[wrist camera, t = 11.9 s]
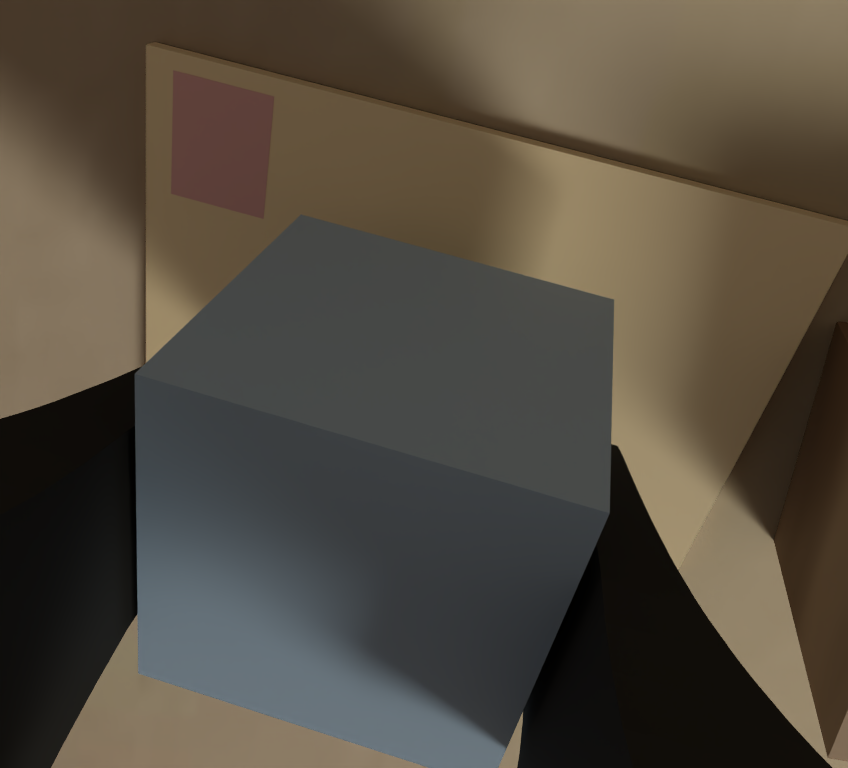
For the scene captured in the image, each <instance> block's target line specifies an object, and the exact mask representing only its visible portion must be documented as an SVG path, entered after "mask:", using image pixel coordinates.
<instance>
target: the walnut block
mask: <svg viewBox="0 0 848 768" xmlns="http://www.w3.org/2000/svg"><path fill="white" fill-rule="evenodd" d="M774 543H775V547H776V551H777V555H778V559H779V563H780V567H781V571H782V575H783V579H784V583H785V587H786V591H787V595H788V599H789V603H790V607H791V611H792V615H793V620H794V624H795V628H796V632H797V636H798V640H799V644H800V648H801V652H802V656H803V660H804V664H805V668H806V672H807V676H808V680H809V684H810V688H811V692H812V696H813V700H814V704H815V708H816V712H817V716H818V720H819V724H820V728H821V732H822V736H823V740H824V744H825V748H826V752H827V756H828V758H831V759H837V760H843V761H848V323H846V322H837V323H836V327H835V330H834V334H833V337H832V341H831V344H830V347H829V351H828V354H827V358H826V361H825V365H824V368H823V372H822V375H821V379H820V382H819V386H818V389H817V393H816V396H815V400H814V403H813V406H812V410H811V413H810V417H809V420H808V424H807V427H806V431H805V434H804V438H803V441H802V445H801V448H800V452H799V455H798V459H797V462H796V465H795V469H794V472H793V476H792V479H791V483H790V486H789V490H788V493H787V497H786V500H785V504H784V507H783V511H782V514H781V518H780V521H779V524H778V528H777V531H776V535H775V538H774Z"/></svg>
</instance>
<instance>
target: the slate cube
mask: <svg viewBox="0 0 848 768" xmlns="http://www.w3.org/2000/svg"><path fill="white" fill-rule="evenodd" d="M613 335H614V299H610V298H606V297H603V296H599V295H595V294H592V293H588V292H584V291H581V290H577V289H573V288H570V287H566V286H562V285H559V284H555V283H551V282H548V281H544V280H540V279H537V278H533V277H529V276H525V275H522V274H518V273H514V272H511V271H507V270H503V269H500V268H496V267H492V266H489V265H485V264H481V263H478V262H474V261H470V260H467V259H463V258H459V257H456V256H452V255H448V254H445V253H441V252H437V251H434V250H430V249H426V248H423V247H419V246H415V245H412V244H408V243H404V242H400V241H397V240H393V239H389V238H386V237H382V236H378V235H375V234H371V233H367V232H364V231H360V230H356V229H353V228H349V227H345V226H342V225H338V224H334V223H331V222H327V221H323V220H320V219H316V218H312V217H309V216H305V215H300V216H299V217H298V218H297V219H296V220H295V221H294V222H293V223H291V224H290V225H289V226H288V227H287V228H286V229H285V230H284V231H283V232H282V233H281V234H280V235H279V236H278V237H277V238H276V239H275V240H274V241H273V242H272V243H271V244H270V245H269V246H267V247H266V248H265V249H264V250H263V251H262V252H261V253H260V254H259V255H258V256H257V257H256V258H255V259H254V260H253V261H252V262H251V263H250V264H249V265H248V266H247V267H246V268H245V269H244V270H242V271H241V272H240V273H239V274H238V275H237V276H236V277H235V278H234V279H233V280H232V281H231V282H230V283H229V284H228V285H227V286H226V287H225V288H224V289H223V290H222V291H221V292H220V293H218V294H217V295H216V296H215V297H214V298H213V299H212V300H211V301H210V302H209V303H208V304H207V305H206V306H205V307H204V308H203V309H202V310H201V311H200V312H199V313H198V314H197V315H196V316H194V317H193V318H192V319H191V320H190V321H189V322H188V323H187V324H186V325H185V326H184V327H183V328H182V329H181V330H180V331H179V332H178V333H177V334H176V335H175V336H174V337H173V338H172V339H170V340H169V341H168V342H167V343H166V344H165V345H164V346H163V347H162V348H161V349H160V350H159V351H158V352H157V353H156V354H155V355H154V356H153V357H152V358H151V359H150V360H149V361H148V362H146V363H145V364H144V365H143V366H142V367H141V368H140V369H139V370H138V371H137V372H136V373H135V447H136V524H137V601H138V673H139V674H142V675H145V676H148V677H151V678H154V679H157V680H160V681H163V682H166V683H169V684H173V685H176V686H179V687H182V688H185V689H188V690H191V691H194V692H197V693H200V694H203V695H207V696H210V697H213V698H216V699H219V700H222V701H225V702H228V703H231V704H234V705H237V706H240V707H244V708H247V709H250V710H253V711H256V712H259V713H262V714H265V715H268V716H271V717H274V718H277V719H281V720H284V721H287V722H290V723H293V724H296V725H299V726H302V727H305V728H308V729H311V730H314V731H318V732H321V733H324V734H327V735H330V736H333V737H336V738H339V739H342V740H345V741H348V742H351V743H355V744H358V745H361V746H364V747H367V748H370V749H373V750H376V751H379V752H382V753H385V754H389V755H392V756H395V757H398V758H401V759H404V760H407V761H410V762H413V763H416V764H419V765H422V766H426V767H429V768H498V767H499V764H500V762H501V760H502V757H503V755H504V753H505V751H506V748H507V746H508V744H509V741H510V739H511V737H512V735H513V732H514V730H515V728H516V726H517V723H518V721H519V719H520V716H521V714H522V712H523V710H524V707H525V705H526V703H527V700H528V698H529V696H530V694H531V691H532V689H533V687H534V685H535V682H536V680H537V678H538V675H539V673H540V671H541V669H542V666H543V664H544V662H545V660H546V657H547V655H548V653H549V650H550V648H551V646H552V644H553V641H554V639H555V637H556V634H557V632H558V630H559V628H560V625H561V623H562V621H563V619H564V616H565V614H566V612H567V609H568V607H569V605H570V603H571V600H572V598H573V596H574V593H575V591H576V589H577V587H578V584H579V582H580V580H581V578H582V575H583V573H584V571H585V568H586V566H587V564H588V562H589V559H590V557H591V555H592V552H593V550H594V548H595V546H596V543H597V541H598V539H599V537H600V534H601V532H602V530H603V527H604V525H605V523H606V521H607V518H608V516H609V514H610V476H611V429H612V382H613Z"/></svg>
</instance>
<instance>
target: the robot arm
mask: <svg viewBox="0 0 848 768" xmlns="http://www.w3.org/2000/svg"><path fill="white" fill-rule="evenodd" d="M140 368H141V367H140ZM140 368H137V369H135V370H133V371H130V372H128V373H126V374H124V375H121V376H119V377H117V378H114V379H112V380H109V381H107V382H104V383H102V384H99V385H96V386H94V387H91V388H89V389H86V390H83V391H81V392H78V393H76V394H73V395H70V396H68V397H65V398H63V399H60V400H57V401H55V402H52V403H49V404H46V405H43V406H40V407H38V408H34V409H31V410H28V411H25V412H22V413H19V414H15V415H12V416H9V417H5V418H2V419H0V768H51V766H52V764H53V763H54V761H55V759H56V757H57V755H58V753H59V751H60V749H61V747H62V745H63V743H64V741H65V740H66V738H67V736H68V734H69V732H70V730H71V729H72V727H73V725H74V723H75V721H76V719H77V718H78V716H79V714H80V712H81V710H82V708H83V707H84V705H85V703H86V701H87V699H88V697H89V696H90V694H91V692H92V690H93V688H94V686H95V685H96V683H97V681H98V679H99V678H100V676H101V674H102V672H103V671H104V669H105V667H106V665H107V664H108V662H109V660H110V658H111V657H112V655H113V653H114V651H115V650H116V648H117V646H118V644H119V643H120V641H121V639H122V637H123V636H124V634H125V632H126V630H127V629H128V627H129V626H130V624H131V623H132V621H133V620H134V618H135V616H136V615H137V613H138V601H137V524H136V447H135V373H136V372H137V371H138V370H139V369H140ZM517 768H832V767H831V766H830V765H829V764H828V763H827V762H826V761H825V760H824V759H823V758H822V757H821V756H820V755H819V754H818V753H817V752H816V751H815V750H814V748H813V747H812V746H811V745H810V744H809V743H808V742H807V741H806V740H805V739H804V738H803V736H802V735H801V734H800V733H799V732H798V731H797V730H796V729H795V728H794V727H793V726H792V724H791V723H790V722H789V721H788V720H787V719H786V718H785V716H784V715H783V714H782V713H781V712H780V711H779V709H778V708H777V707H776V706H775V705H774V703H773V702H772V701H771V700H770V699H769V698H768V696H767V695H766V694H765V693H764V692H763V690H762V689H761V688H760V687H759V686H758V684H757V683H756V682H755V681H754V680H753V678H752V677H751V676H750V675H749V673H748V672H747V671H746V670H745V668H744V667H743V666H742V664H741V663H740V662H739V661H738V659H737V658H736V657H735V655H734V654H733V653H732V651H731V650H730V648H729V647H728V646H727V644H726V643H725V641H724V640H723V639H722V637H721V636H720V634H719V633H718V632H717V630H716V629H715V628H714V626H713V625H712V623H711V622H710V621H709V619H708V618H707V616H706V615H705V613H704V612H703V610H702V609H701V607H700V606H699V604H698V603H697V601H696V599H695V598H694V596H693V595H692V593H691V591H690V590H689V588H688V586H687V585H686V583H685V581H684V580H683V578H682V576H681V575H680V573H679V571H678V569H677V567H676V566H675V564H674V562H673V560H672V558H671V557H670V555H669V553H668V551H667V549H666V547H665V545H664V543H663V541H662V539H661V537H660V535H659V533H658V531H657V529H656V528H655V526H654V524H653V522H652V520H651V517H650V515H649V513H648V511H647V509H646V507H645V505H644V503H643V500H642V498H641V496H640V494H639V492H638V490H637V487H636V485H635V483H634V480H633V478H632V476H631V474H630V471H629V469H628V467H627V464H626V462H625V460H624V457H623V455H622V453H621V451H620V449H619V447H618V446H616V445H613V444H611V476H610V514H609V516H608V518H607V521H606V523H605V525H604V527H603V530H602V532H601V534H600V537H599V539H598V541H597V543H596V546H595V548H594V550H593V552H592V555H591V557H590V559H589V562H588V564H587V566H586V568H585V571H584V573H583V575H582V578H581V580H580V582H579V584H578V587H577V589H576V591H575V593H574V596H573V598H572V600H571V603H570V605H569V607H568V609H567V612H566V614H565V616H564V619H563V621H562V623H561V625H560V628H559V630H558V632H557V634H556V637H555V639H554V641H553V644H552V646H551V648H550V650H549V653H548V655H547V657H546V660H545V662H544V664H543V666H542V669H541V671H540V673H539V675H538V678H537V680H536V682H535V685H534V687H533V689H532V691H531V694H530V696H529V698H528V700H527V703H526V705H525V707H524V710H523V725H522V735H521V745H520V754H519V761H518V767H517Z"/></svg>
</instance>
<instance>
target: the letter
mask: <svg viewBox="0 0 848 768" xmlns="http://www.w3.org/2000/svg"><path fill="white" fill-rule="evenodd" d="M300 215H305V216H309V217H312V218H316V219H320V220H323V221H327V222H331V223H334V224H338V225H342V226H345V227H349V228H353V229H356V230H360V231H364V232H367V233H371V234H375V235H378V236H382V237H386V238H389V239H393V240H397V241H400V242H404V243H408V244H412V245H415V246H419V247H423V248H426V249H430V250H434V251H437V252H441V253H445V254H448V255H452V256H456V257H459V258H463V259H467V260H470V261H474V262H478V263H481V264H485V265H489V266H492V267H496V268H500V269H503V270H507V271H511V272H514V273H518V274H522V275H525V276H529V277H533V278H537V279H540V280H544V281H548V282H551V283H555V284H559V285H562V286H566V287H570V288H573V289H577V290H581V291H584V292H588V293H592V294H595V295H599V296H603V297H606V298H610V299H614V335H613V382H612V429H611V444H613V445H616V446H618V447H619V449H620V451H621V453H622V455H623V457H624V460H625V462H626V464H627V467H628V469H629V471H630V474H631V476H632V478H633V480H634V483H635V485H636V487H637V490H638V492H639V494H640V496H641V498H642V500H643V503H644V505H645V507H646V509H647V511H648V513H649V515H650V517H651V520H652V522H653V524H654V526H655V528H656V529H657V531H658V533H659V535H660V537H661V539H662V541H663V543H664V545H665V547H666V549H667V551H668V553H669V555H670V557H671V558H672V560H673V562H674V564H675V566H676V567H677V569H678V570H679V568H680V566H681V564H682V562H683V560H684V559H685V557H686V555H687V553H688V551H689V549H690V547H691V546H692V544H693V542H694V540H695V538H696V536H697V534H698V532H699V531H700V529H701V527H702V525H703V523H704V521H705V519H706V518H707V516H708V514H709V512H710V510H711V508H712V506H713V504H714V503H715V501H716V499H717V497H718V495H719V493H720V491H721V490H722V488H723V486H724V484H725V482H726V480H727V478H728V476H729V475H730V473H731V471H732V469H733V467H734V465H735V463H736V462H737V460H738V458H739V456H740V454H741V452H742V450H743V448H744V447H745V445H746V443H747V441H748V439H749V437H750V435H751V434H752V432H753V430H754V428H755V426H756V424H757V422H758V420H759V419H760V417H761V415H762V413H763V411H764V409H765V407H766V406H767V404H768V402H769V400H770V398H771V396H772V394H773V392H774V391H775V389H776V387H777V385H778V383H779V381H780V379H781V378H782V376H783V374H784V372H785V370H786V368H787V366H788V364H789V363H790V361H791V359H792V357H793V355H794V353H795V351H796V350H797V348H798V346H799V344H800V342H801V340H802V338H803V336H804V335H805V333H806V331H807V329H808V327H809V325H810V323H811V322H812V320H813V318H814V316H815V314H816V312H817V310H818V308H819V307H820V305H821V303H822V301H823V299H824V297H825V295H826V294H827V292H828V290H829V288H830V286H831V284H832V282H833V280H834V279H835V277H836V275H837V273H838V271H839V269H840V267H841V266H842V264H843V262H844V260H845V258H846V256H847V254H848V221H846V220H842V219H838V218H834V217H830V216H826V215H823V214H819V213H815V212H811V211H807V210H803V209H799V208H796V207H792V206H788V205H784V204H780V203H776V202H772V201H768V200H765V199H761V198H757V197H753V196H749V195H745V194H741V193H737V192H734V191H730V190H726V189H722V188H718V187H714V186H710V185H707V184H703V183H699V182H695V181H691V180H687V179H683V178H679V177H676V176H672V175H668V174H664V173H660V172H656V171H652V170H648V169H645V168H641V167H637V166H633V165H629V164H625V163H621V162H618V161H614V160H610V159H606V158H602V157H598V156H594V155H590V154H587V153H583V152H579V151H575V150H571V149H567V148H563V147H559V146H556V145H552V144H548V143H544V142H540V141H536V140H532V139H529V138H525V137H521V136H517V135H513V134H509V133H505V132H501V131H498V130H494V129H490V128H486V127H482V126H478V125H474V124H470V123H467V122H463V121H459V120H455V119H451V118H447V117H443V116H440V115H436V114H432V113H428V112H424V111H420V110H416V109H412V108H409V107H405V106H401V105H397V104H393V103H389V102H385V101H382V100H378V99H374V98H370V97H366V96H362V95H358V94H354V93H351V92H347V91H343V90H339V89H335V88H331V87H327V86H323V85H320V84H316V83H312V82H308V81H304V80H300V79H296V78H293V77H289V76H285V75H281V74H277V73H273V72H269V71H265V70H262V69H258V68H254V67H250V66H246V65H242V64H238V63H234V62H231V61H227V60H223V59H219V58H215V57H211V56H207V55H204V54H200V53H196V52H192V51H188V50H184V49H180V48H176V47H173V46H169V45H165V44H161V43H157V42H153V43H149V44H146V362H148V361H149V360H150V359H151V358H152V357H153V356H154V355H155V354H156V353H157V352H158V351H159V350H160V349H161V348H162V347H163V346H164V345H165V344H166V343H167V342H168V341H169V340H170V339H172V338H173V337H174V336H175V335H176V334H177V333H178V332H179V331H180V330H181V329H182V328H183V327H184V326H185V325H186V324H187V323H188V322H189V321H190V320H191V319H192V318H193V317H194V316H196V315H197V314H198V313H199V312H200V311H201V310H202V309H203V308H204V307H205V306H206V305H207V304H208V303H209V302H210V301H211V300H212V299H213V298H214V297H215V296H216V295H217V294H218V293H220V292H221V291H222V290H223V289H224V288H225V287H226V286H227V285H228V284H229V283H230V282H231V281H232V280H233V279H234V278H235V277H236V276H237V275H238V274H239V273H240V272H241V271H242V270H244V269H245V268H246V267H247V266H248V265H249V264H250V263H251V262H252V261H253V260H254V259H255V258H256V257H257V256H258V255H259V254H260V253H261V252H262V251H263V250H264V249H265V248H266V247H267V246H269V245H270V244H271V243H272V242H273V241H274V240H275V239H276V238H277V237H278V236H279V235H280V234H281V233H282V232H283V231H284V230H285V229H286V228H287V227H288V226H289V225H290V224H291V223H293V222H294V221H295V220H296V219H297V218H298V217H299V216H300Z"/></svg>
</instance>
